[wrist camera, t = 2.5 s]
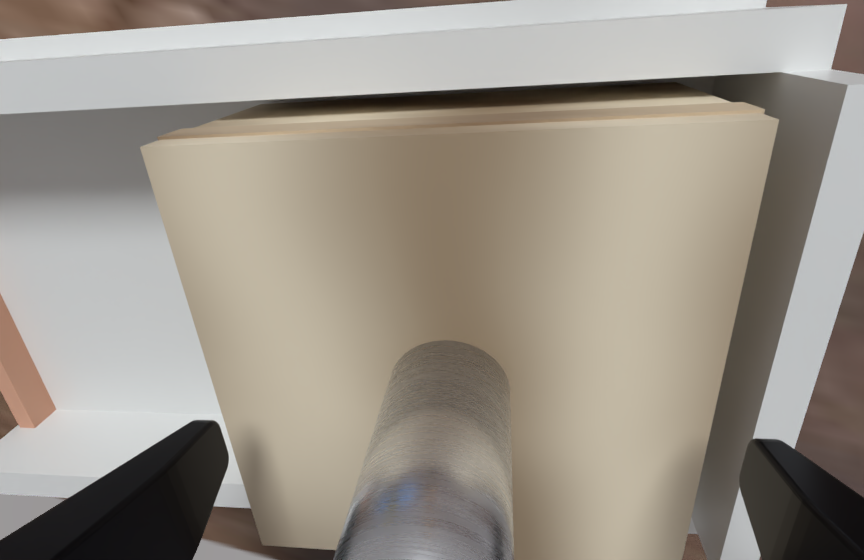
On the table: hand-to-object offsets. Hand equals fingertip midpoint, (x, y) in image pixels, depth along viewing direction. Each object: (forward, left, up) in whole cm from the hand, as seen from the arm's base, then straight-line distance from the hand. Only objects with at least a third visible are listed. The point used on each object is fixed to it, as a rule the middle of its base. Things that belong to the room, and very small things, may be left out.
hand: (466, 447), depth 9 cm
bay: (-4, +4, -8) cm, 9 cm away
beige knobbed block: (0, 0, -8) cm, 8 cm away
